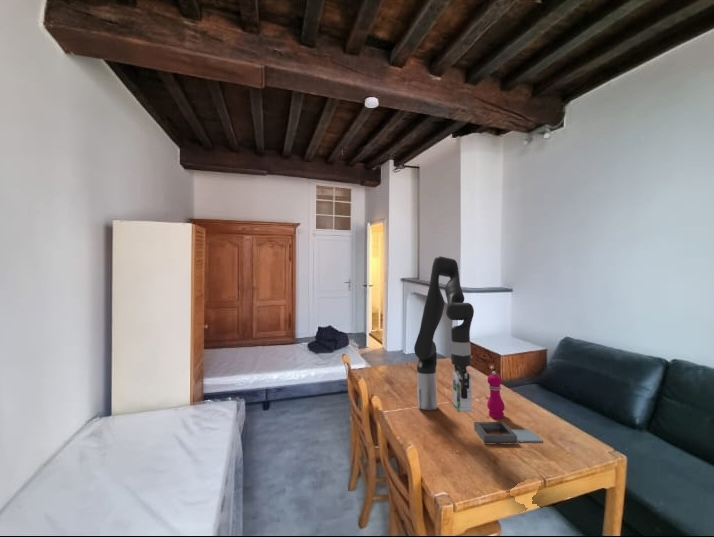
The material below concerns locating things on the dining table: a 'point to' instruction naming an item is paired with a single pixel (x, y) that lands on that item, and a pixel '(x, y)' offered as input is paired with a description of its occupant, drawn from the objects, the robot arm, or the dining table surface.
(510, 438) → the iron collar
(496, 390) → the pepper mill
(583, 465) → the dining table surface
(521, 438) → the slate mat
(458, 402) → the syrup box
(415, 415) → the dining table surface
